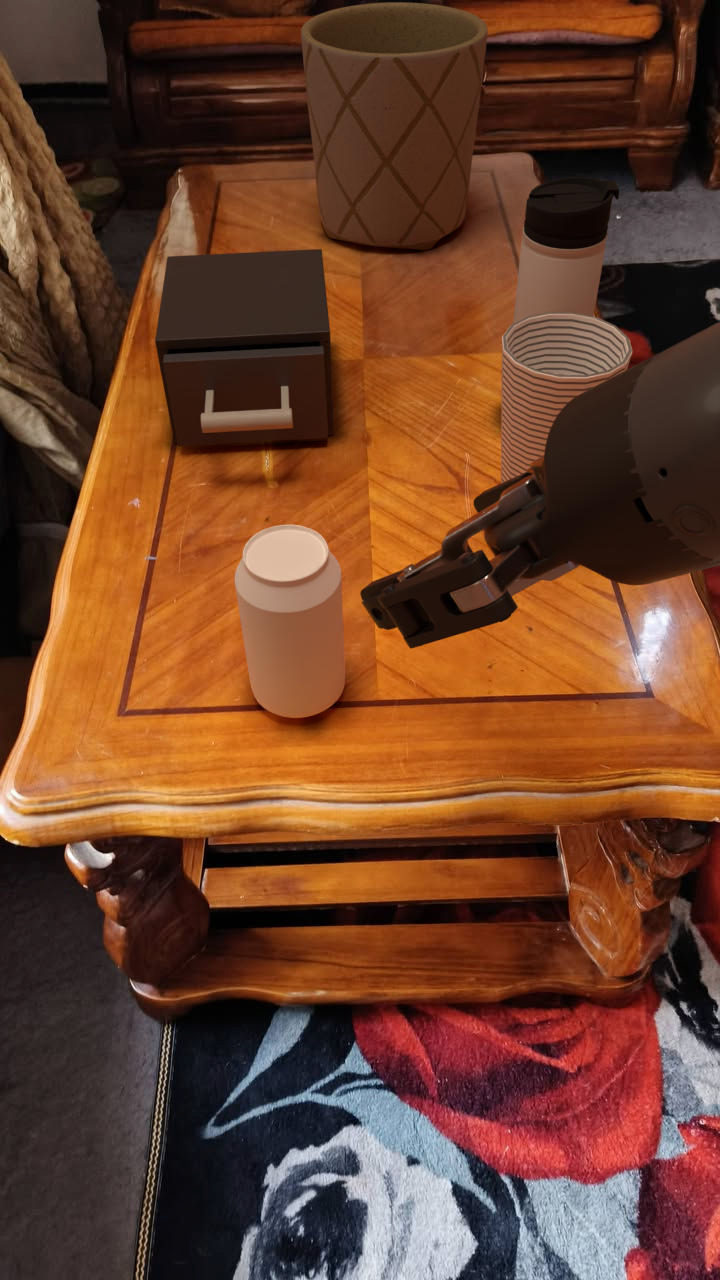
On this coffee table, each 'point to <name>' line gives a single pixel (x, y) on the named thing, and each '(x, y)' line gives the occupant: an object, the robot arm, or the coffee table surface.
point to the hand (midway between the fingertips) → (432, 559)
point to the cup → (551, 377)
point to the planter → (393, 119)
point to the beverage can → (292, 620)
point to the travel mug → (563, 246)
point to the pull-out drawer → (247, 393)
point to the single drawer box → (244, 306)
